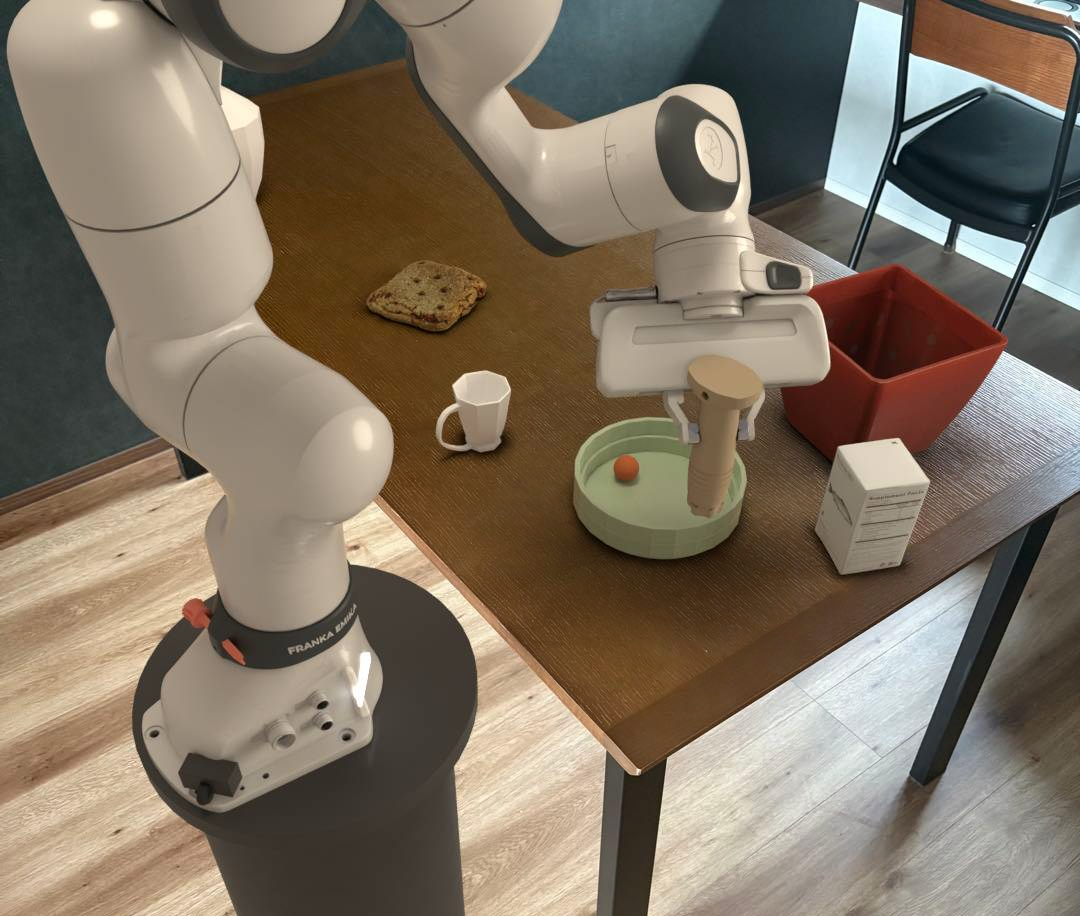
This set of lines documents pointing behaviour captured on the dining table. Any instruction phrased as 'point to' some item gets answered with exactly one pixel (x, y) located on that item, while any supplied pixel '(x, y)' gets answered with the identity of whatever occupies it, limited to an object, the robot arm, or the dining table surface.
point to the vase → (245, 132)
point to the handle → (717, 427)
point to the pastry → (427, 295)
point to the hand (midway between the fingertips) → (717, 442)
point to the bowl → (648, 492)
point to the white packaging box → (871, 505)
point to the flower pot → (891, 362)
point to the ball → (626, 468)
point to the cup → (478, 410)
